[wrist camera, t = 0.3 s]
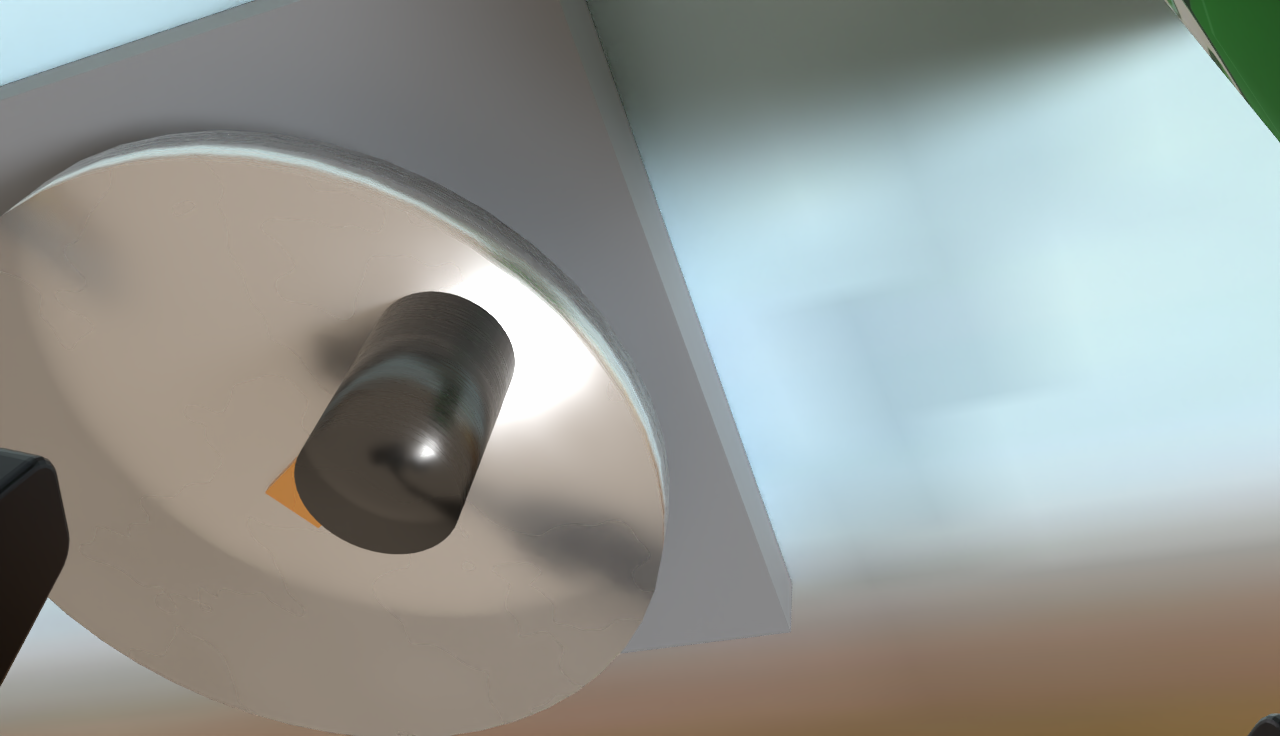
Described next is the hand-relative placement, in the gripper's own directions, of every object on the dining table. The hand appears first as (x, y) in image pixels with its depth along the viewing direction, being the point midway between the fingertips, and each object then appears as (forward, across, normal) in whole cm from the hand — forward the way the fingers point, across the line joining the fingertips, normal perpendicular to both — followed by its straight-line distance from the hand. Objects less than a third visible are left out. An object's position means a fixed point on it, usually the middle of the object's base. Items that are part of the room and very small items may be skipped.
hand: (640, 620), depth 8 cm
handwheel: (+10, +7, +9) cm, 15 cm away
